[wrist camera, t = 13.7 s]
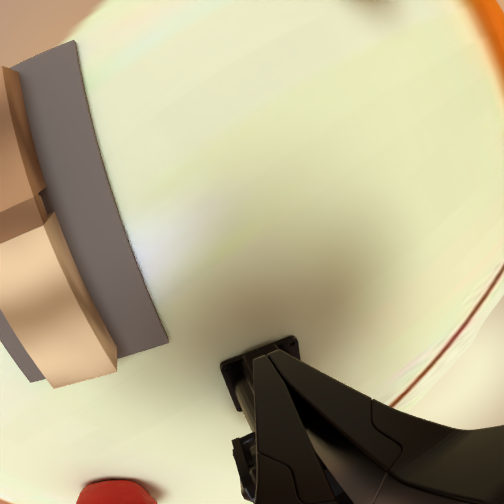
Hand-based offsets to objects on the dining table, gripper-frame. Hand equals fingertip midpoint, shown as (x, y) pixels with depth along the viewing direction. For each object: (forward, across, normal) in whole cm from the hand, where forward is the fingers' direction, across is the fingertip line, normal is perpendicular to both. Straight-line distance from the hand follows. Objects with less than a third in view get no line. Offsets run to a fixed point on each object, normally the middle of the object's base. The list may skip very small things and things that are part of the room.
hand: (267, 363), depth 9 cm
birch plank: (+12, +10, +1) cm, 15 cm away
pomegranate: (+12, +19, +27) cm, 35 cm away
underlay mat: (+12, +10, -3) cm, 16 cm away
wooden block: (+12, +10, -9) cm, 18 cm away
